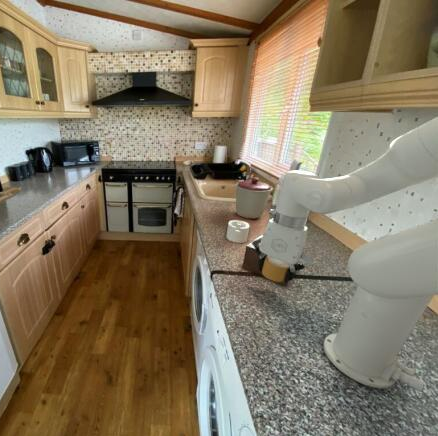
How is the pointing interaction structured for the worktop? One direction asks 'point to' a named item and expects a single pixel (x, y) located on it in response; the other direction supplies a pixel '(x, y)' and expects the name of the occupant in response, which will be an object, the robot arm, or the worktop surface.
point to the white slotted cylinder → (237, 231)
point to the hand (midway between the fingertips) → (274, 274)
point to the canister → (252, 198)
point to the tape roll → (275, 269)
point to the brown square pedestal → (254, 261)
